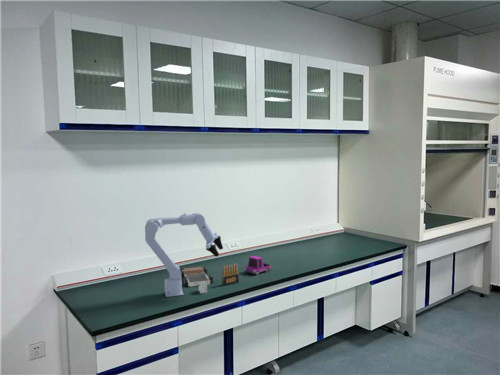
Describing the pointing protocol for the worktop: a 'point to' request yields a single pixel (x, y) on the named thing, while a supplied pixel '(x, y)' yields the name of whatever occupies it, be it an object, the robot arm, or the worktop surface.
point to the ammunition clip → (230, 275)
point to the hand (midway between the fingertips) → (219, 252)
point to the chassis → (196, 276)
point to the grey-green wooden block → (202, 287)
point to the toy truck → (256, 265)
